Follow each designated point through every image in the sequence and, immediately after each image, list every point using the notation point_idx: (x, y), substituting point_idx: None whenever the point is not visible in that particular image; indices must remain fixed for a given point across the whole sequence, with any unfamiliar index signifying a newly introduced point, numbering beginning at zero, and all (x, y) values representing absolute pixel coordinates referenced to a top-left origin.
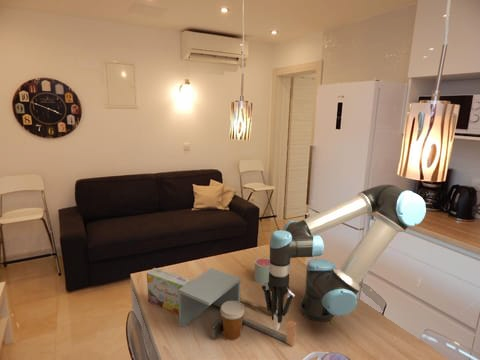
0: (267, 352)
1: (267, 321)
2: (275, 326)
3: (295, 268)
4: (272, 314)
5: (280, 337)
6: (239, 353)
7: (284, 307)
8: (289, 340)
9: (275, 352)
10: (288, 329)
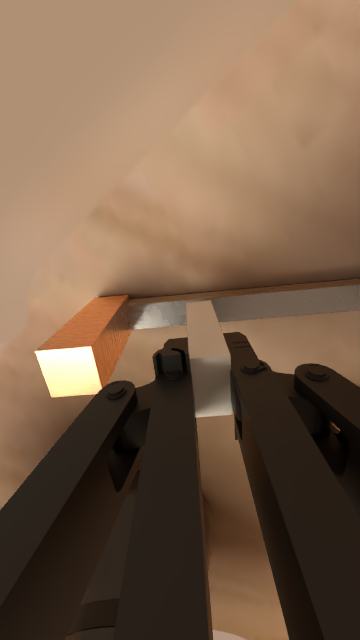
0: (168, 168)
1: (285, 364)
2: (197, 312)
3: None
4: (249, 358)
5: (164, 300)
6: (311, 14)
7: (65, 498)
8: (106, 303)
9: (135, 201)
10: (94, 329)
